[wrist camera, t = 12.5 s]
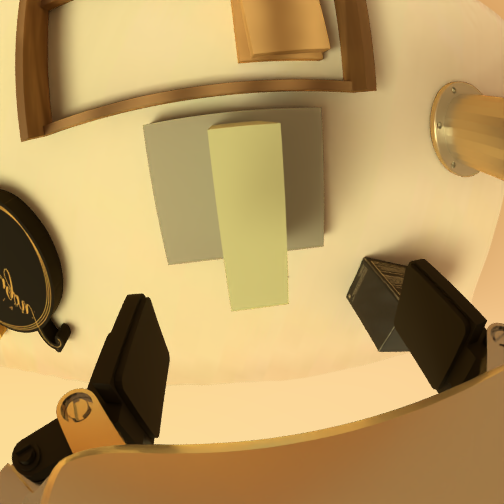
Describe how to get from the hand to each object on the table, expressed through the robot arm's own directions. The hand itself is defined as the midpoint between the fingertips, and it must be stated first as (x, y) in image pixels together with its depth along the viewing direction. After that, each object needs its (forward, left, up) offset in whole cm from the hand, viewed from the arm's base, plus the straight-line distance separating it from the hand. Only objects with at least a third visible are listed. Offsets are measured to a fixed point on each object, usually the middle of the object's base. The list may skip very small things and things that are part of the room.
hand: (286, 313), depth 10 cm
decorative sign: (+35, +6, -22) cm, 42 cm away
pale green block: (0, 0, -19) cm, 19 cm away
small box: (-18, +15, -21) cm, 31 cm away
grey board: (0, 0, -21) cm, 21 cm away
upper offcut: (-5, -17, -20) cm, 26 cm away
